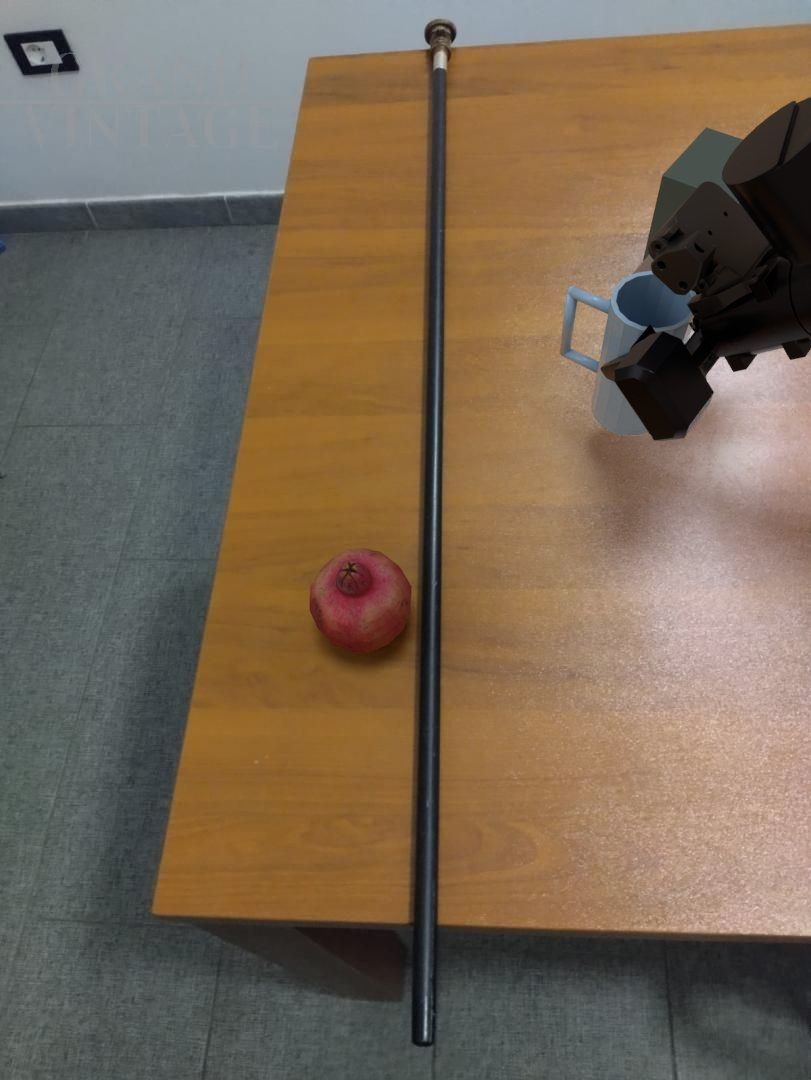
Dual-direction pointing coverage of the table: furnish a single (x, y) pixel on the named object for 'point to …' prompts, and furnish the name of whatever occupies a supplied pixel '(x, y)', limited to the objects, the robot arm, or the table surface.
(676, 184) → the box
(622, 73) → the table surface
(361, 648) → the fruit
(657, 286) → the blue mug
